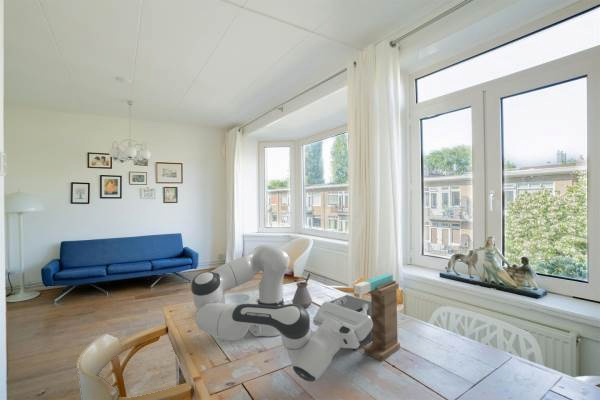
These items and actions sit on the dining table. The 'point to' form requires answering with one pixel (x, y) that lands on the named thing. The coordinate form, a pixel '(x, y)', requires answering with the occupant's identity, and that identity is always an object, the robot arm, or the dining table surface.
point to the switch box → (356, 305)
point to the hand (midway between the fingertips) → (355, 301)
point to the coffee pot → (302, 294)
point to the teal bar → (372, 284)
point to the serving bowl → (237, 299)
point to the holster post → (384, 321)
